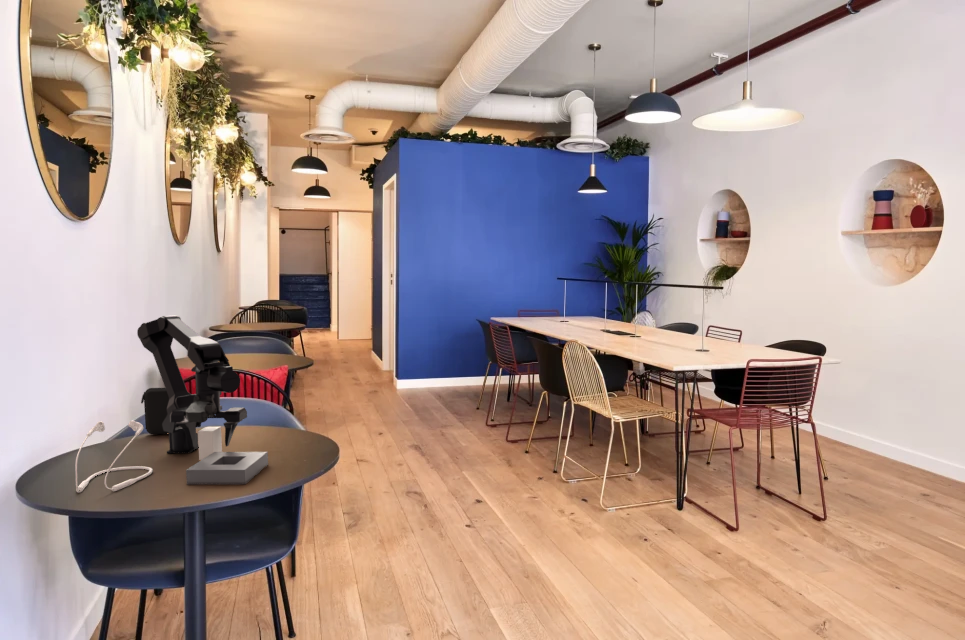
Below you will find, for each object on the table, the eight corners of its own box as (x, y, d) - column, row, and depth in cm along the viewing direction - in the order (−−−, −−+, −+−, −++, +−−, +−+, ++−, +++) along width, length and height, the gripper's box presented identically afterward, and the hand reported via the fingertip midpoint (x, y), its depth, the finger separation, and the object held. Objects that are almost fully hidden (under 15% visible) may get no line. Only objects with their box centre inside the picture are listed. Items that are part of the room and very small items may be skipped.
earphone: (54, 482, 141) (86, 416, 154) (85, 519, 153) (112, 455, 166) (118, 480, 142) (144, 415, 155) (143, 517, 154) (165, 453, 166)
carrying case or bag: (140, 436, 195) (138, 389, 194) (145, 433, 198) (142, 387, 197) (177, 435, 196) (174, 388, 195) (180, 432, 199) (178, 386, 198)
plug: (199, 460, 169) (197, 431, 169) (210, 453, 176) (208, 425, 175) (214, 460, 169) (212, 431, 169) (224, 453, 176) (223, 425, 175)
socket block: (186, 484, 150) (186, 469, 150) (214, 465, 165) (214, 451, 165) (245, 484, 150) (244, 469, 150) (268, 465, 165) (267, 451, 165)
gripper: (157, 395, 163) (160, 454, 164) (229, 394, 162) (232, 454, 163) (179, 387, 174) (181, 443, 175) (246, 386, 173) (248, 443, 174)
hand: (210, 446), depth 172 cm, fingers open, 9 cm apart
